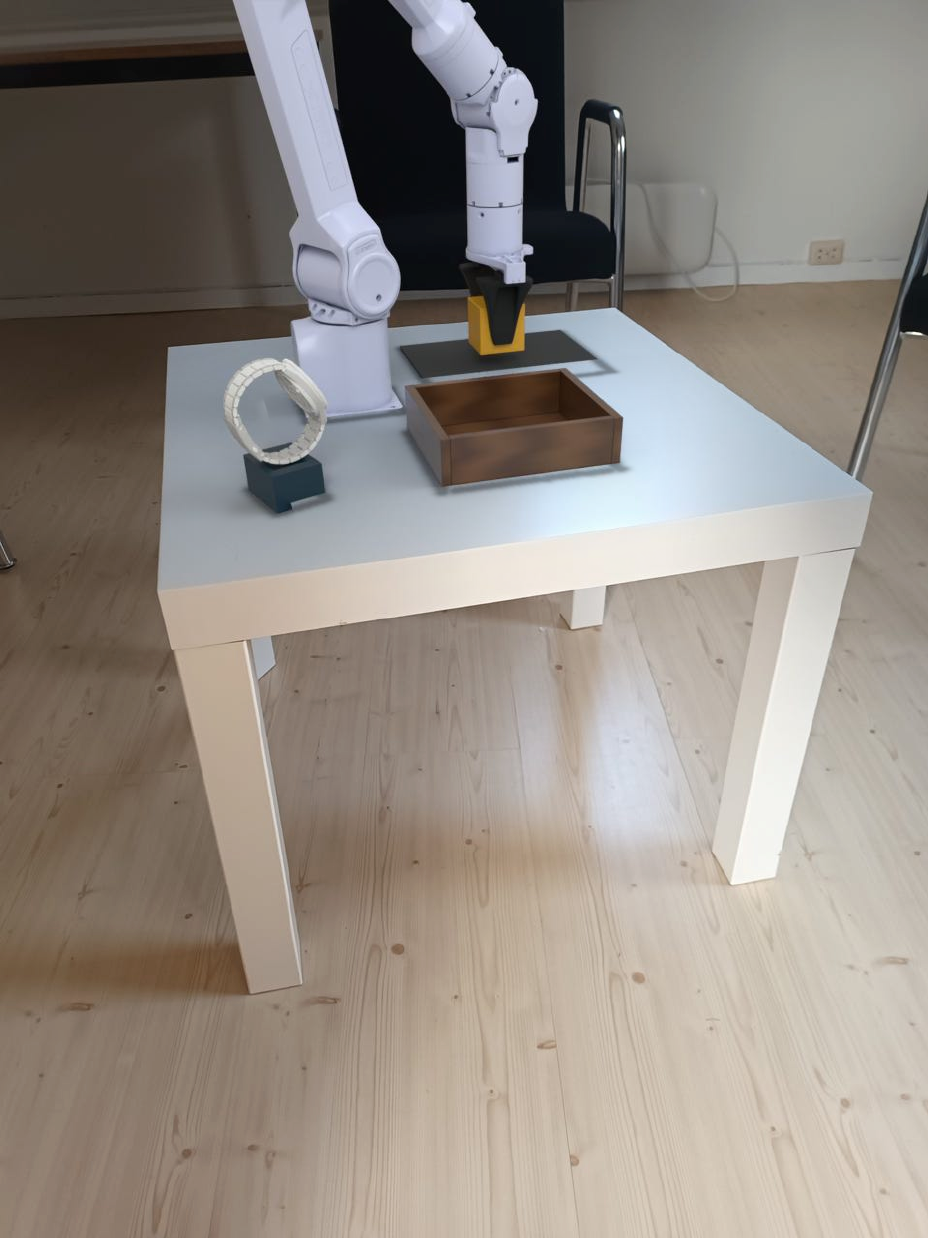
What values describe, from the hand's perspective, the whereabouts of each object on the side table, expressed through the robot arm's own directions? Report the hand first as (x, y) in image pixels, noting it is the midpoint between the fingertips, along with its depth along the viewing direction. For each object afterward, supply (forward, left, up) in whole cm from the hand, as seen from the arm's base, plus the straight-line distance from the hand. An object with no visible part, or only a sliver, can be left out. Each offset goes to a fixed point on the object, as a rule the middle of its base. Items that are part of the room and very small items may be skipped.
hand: (495, 336), depth 102 cm
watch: (-26, -27, -3) cm, 38 cm away
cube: (0, 0, -1) cm, 1 cm away
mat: (+1, +1, -3) cm, 3 cm away
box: (-6, -24, -3) cm, 25 cm away
